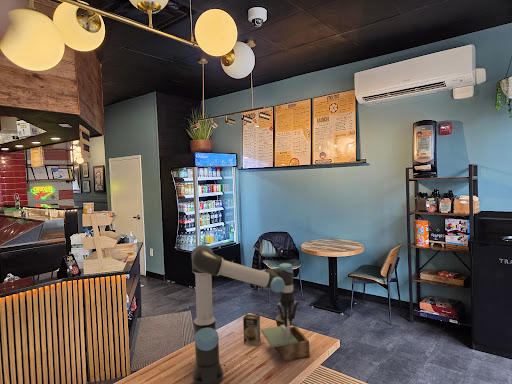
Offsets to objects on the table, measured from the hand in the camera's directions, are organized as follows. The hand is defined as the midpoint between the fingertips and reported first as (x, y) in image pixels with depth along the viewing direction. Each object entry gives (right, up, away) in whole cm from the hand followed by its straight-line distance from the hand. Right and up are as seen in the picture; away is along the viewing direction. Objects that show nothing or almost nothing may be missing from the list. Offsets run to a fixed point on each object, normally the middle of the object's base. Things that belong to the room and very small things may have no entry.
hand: (288, 331), depth 189 cm
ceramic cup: (-1, -11, +23) cm, 26 cm away
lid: (-5, -3, -1) cm, 6 cm away
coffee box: (-21, -12, +12) cm, 27 cm away
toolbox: (+1, -11, +1) cm, 11 cm away
